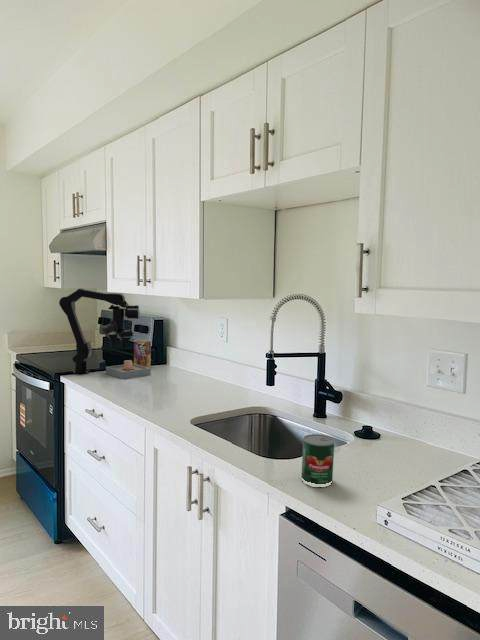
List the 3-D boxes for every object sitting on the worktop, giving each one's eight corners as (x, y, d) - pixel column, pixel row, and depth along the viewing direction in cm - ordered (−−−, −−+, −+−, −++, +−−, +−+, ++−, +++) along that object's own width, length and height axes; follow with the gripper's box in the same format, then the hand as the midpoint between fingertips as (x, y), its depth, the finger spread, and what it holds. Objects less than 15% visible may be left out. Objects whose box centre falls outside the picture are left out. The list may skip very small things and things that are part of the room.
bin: (105, 373, 239) (105, 366, 238) (133, 370, 250) (133, 363, 250) (122, 379, 228) (122, 372, 227) (150, 375, 239) (150, 368, 239)
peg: (122, 374, 239) (122, 360, 238) (129, 373, 242) (129, 359, 241) (126, 375, 236) (126, 361, 235) (133, 374, 239) (133, 361, 238)
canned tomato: (312, 490, 115) (314, 446, 114) (295, 477, 122) (297, 436, 121) (338, 485, 119) (341, 442, 118) (320, 473, 126) (322, 432, 125)
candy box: (150, 367, 259) (151, 339, 258) (150, 368, 255) (150, 340, 254) (134, 367, 258) (134, 339, 257) (133, 368, 254) (133, 340, 252)
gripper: (94, 317, 238) (94, 348, 240) (113, 320, 225) (113, 353, 227) (114, 316, 246) (113, 346, 248) (133, 319, 233) (133, 351, 235)
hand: (117, 349), depth 239 cm, fingers open, 9 cm apart
